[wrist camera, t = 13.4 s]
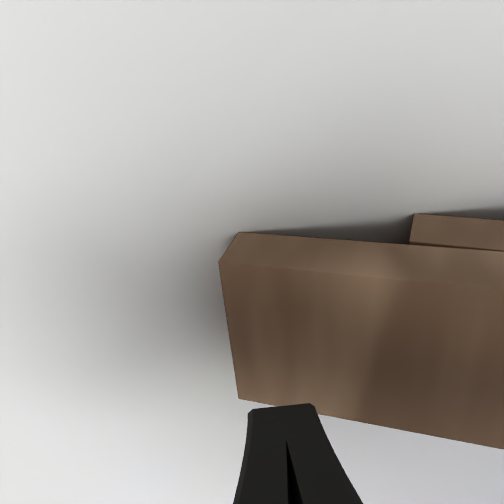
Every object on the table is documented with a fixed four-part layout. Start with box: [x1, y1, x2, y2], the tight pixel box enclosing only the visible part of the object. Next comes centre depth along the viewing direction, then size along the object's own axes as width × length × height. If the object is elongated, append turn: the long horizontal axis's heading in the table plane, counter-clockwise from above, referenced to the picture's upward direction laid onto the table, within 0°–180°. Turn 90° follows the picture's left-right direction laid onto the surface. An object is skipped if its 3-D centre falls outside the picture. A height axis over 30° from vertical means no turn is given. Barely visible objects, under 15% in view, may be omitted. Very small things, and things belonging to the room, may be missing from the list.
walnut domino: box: [218, 232, 504, 449], centre depth 13 cm, size 2×5×8 cm
